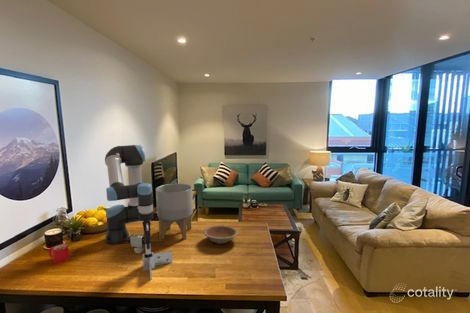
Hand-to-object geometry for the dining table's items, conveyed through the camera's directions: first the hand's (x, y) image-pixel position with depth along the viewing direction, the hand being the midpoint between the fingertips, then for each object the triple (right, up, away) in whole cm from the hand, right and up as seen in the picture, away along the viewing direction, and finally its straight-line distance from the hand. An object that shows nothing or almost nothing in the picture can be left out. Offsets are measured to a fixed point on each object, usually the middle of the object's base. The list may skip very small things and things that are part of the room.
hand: (148, 251), depth 146 cm
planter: (+6, -3, +44) cm, 44 cm away
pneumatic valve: (-12, -7, +18) cm, 22 cm away
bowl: (+39, -5, +32) cm, 51 cm away
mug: (-57, -8, +10) cm, 58 cm away
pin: (0, -6, +1) cm, 7 cm away
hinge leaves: (+7, -9, -1) cm, 12 cm away
